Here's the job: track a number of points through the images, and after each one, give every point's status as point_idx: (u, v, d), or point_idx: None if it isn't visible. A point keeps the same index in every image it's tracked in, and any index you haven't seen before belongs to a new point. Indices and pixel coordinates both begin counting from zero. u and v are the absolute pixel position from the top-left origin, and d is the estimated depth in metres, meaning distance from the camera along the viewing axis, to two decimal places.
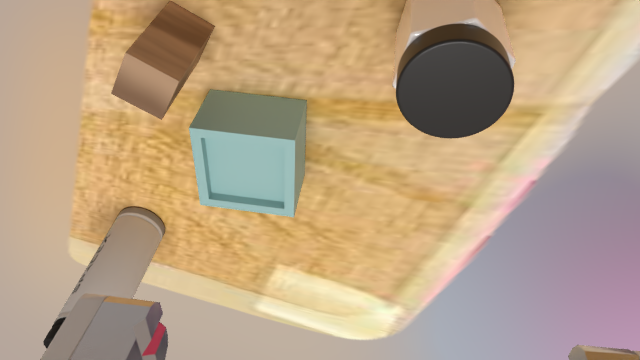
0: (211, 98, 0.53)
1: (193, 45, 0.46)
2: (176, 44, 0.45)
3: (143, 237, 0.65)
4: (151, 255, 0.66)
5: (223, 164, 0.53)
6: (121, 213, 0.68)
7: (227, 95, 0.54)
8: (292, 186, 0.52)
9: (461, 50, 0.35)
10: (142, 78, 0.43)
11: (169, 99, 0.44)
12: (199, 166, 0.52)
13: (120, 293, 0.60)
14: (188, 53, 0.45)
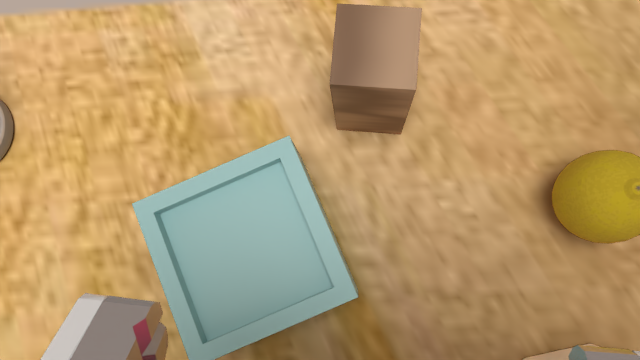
0: (302, 160, 0.36)
1: None
2: None
3: None
4: None
5: (232, 210, 0.32)
6: None
7: None
8: (261, 333, 0.29)
9: None
10: (391, 40, 0.28)
11: (375, 85, 0.28)
12: (219, 174, 0.31)
13: None
14: None
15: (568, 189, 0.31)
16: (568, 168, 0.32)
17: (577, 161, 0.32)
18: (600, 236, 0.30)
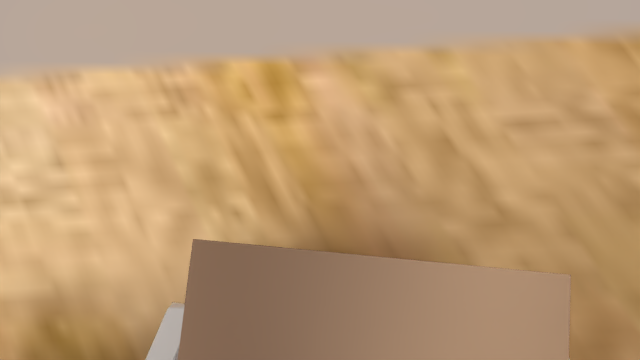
0: None
1: None
2: None
3: None
4: None
5: None
6: None
7: None
8: None
9: None
10: None
11: None
12: None
13: None
14: None
15: None
16: None
17: None
18: None
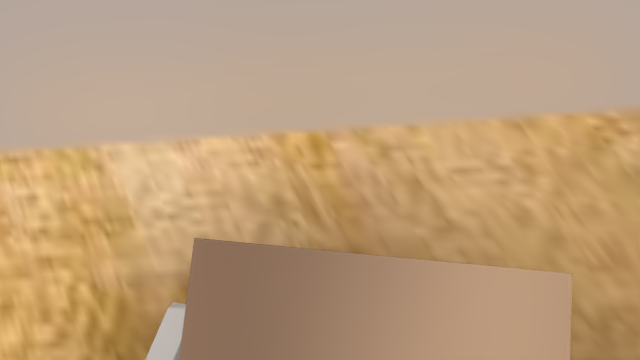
0: None
1: None
2: None
3: None
4: None
5: None
6: None
7: None
8: None
9: None
10: None
11: None
12: None
13: None
14: None
15: None
16: None
17: None
18: None
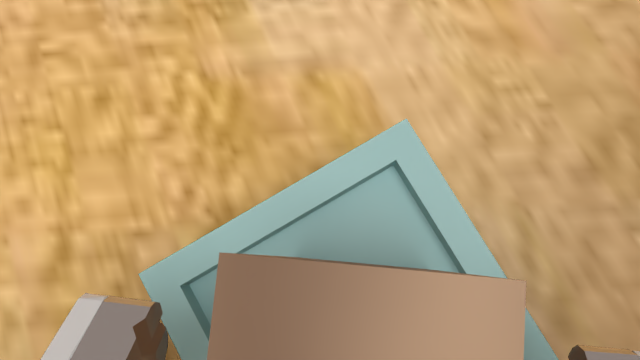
0: None
1: None
2: None
3: None
4: None
5: None
6: None
7: None
8: None
9: None
10: None
11: None
12: (290, 202, 0.17)
13: None
14: None
15: None
16: None
17: None
18: None
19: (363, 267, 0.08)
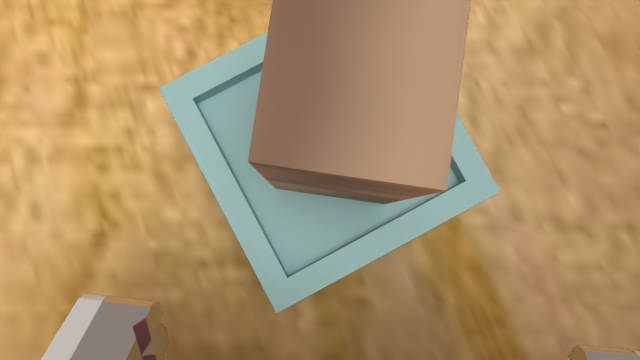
0: None
1: None
2: None
3: None
4: None
5: None
6: None
7: None
8: (370, 255, 0.21)
9: None
10: (397, 67, 0.12)
11: (353, 172, 0.12)
12: None
13: None
14: None
15: None
16: None
17: None
18: None
19: None
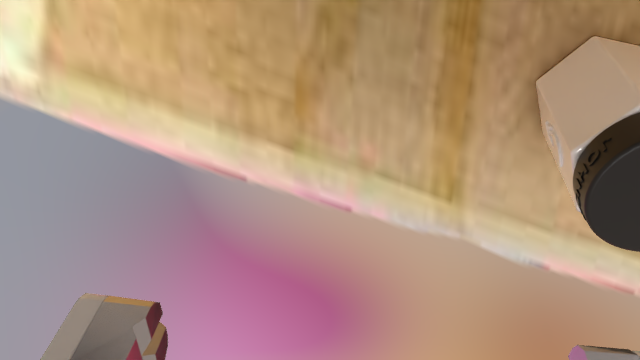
0: None
1: None
2: None
3: None
4: None
5: None
6: None
7: None
8: None
9: None
10: None
11: None
12: None
13: None
14: None
15: None
16: None
17: None
18: None
19: None
